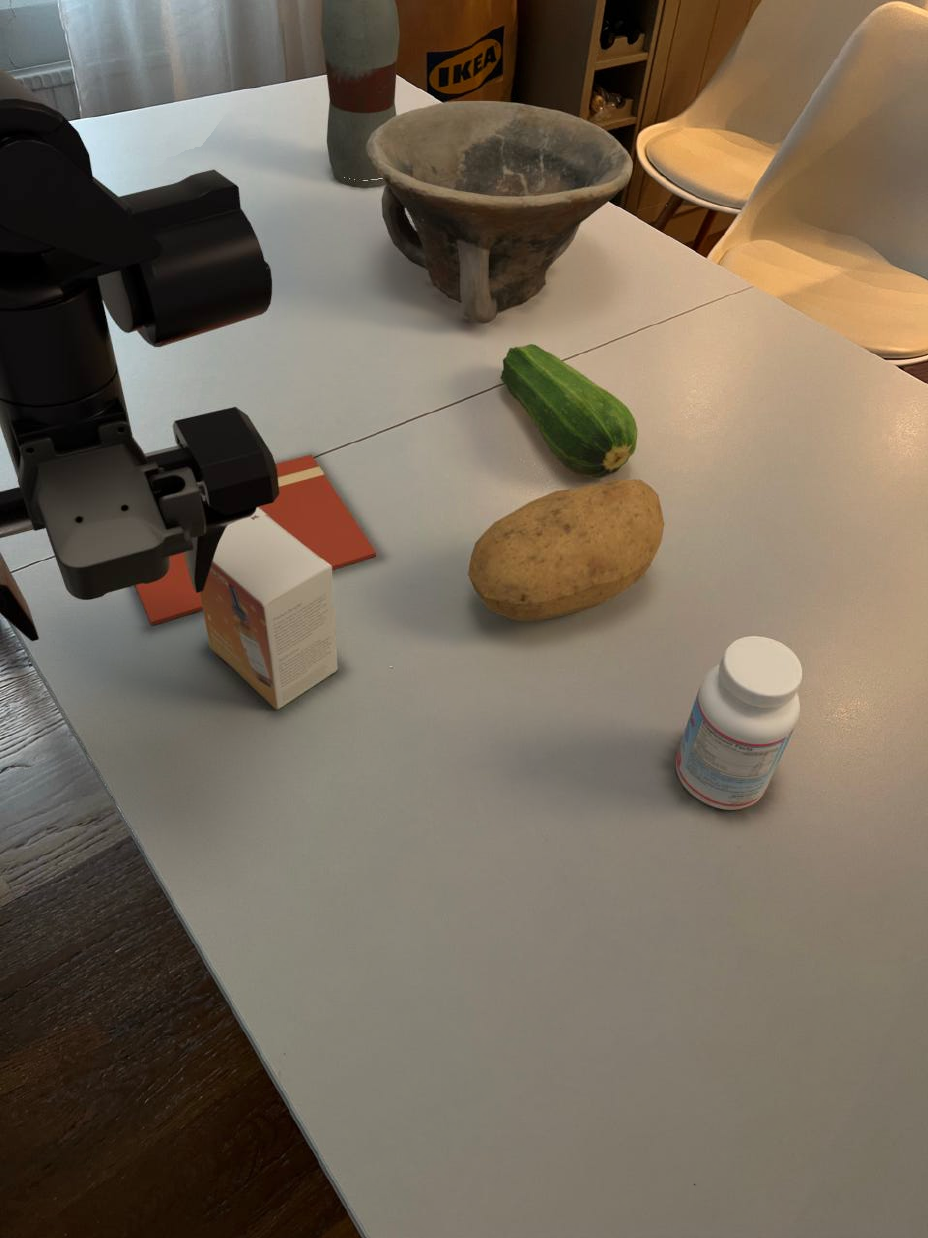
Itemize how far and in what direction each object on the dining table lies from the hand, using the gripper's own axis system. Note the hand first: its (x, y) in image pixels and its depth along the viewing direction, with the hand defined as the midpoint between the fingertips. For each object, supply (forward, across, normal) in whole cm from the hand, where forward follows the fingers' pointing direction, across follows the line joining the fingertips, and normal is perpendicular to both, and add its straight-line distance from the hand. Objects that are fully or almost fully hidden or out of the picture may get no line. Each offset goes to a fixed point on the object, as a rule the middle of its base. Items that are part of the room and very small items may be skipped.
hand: (118, 611), depth 57 cm
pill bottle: (+12, +33, -18) cm, 40 cm away
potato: (+12, +32, +1) cm, 34 cm away
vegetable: (+12, +43, +20) cm, 49 cm away
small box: (+13, +10, +4) cm, 17 cm away
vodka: (+12, +49, +78) cm, 93 cm away
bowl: (+12, +51, +47) cm, 70 cm away
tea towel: (+12, +12, +18) cm, 25 cm away
